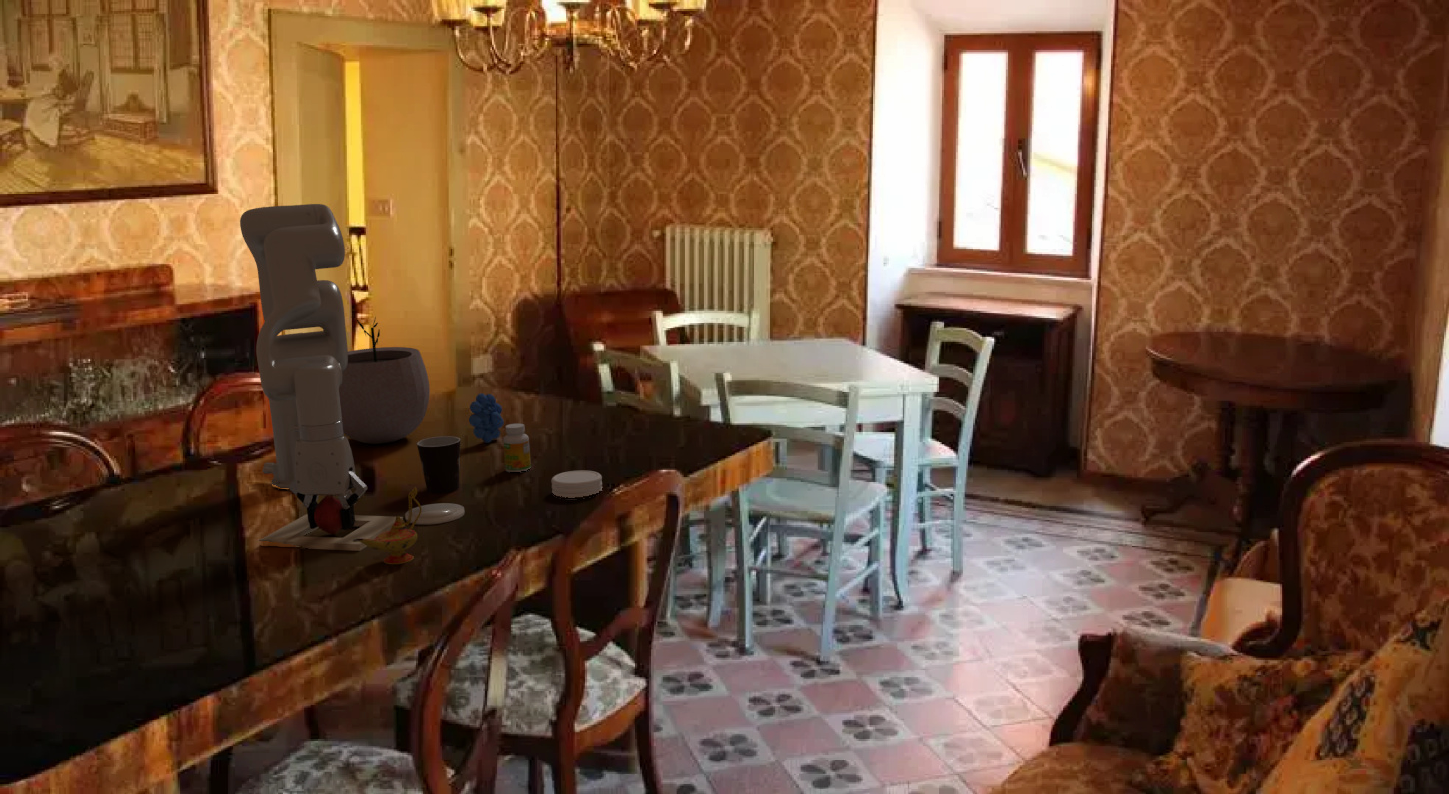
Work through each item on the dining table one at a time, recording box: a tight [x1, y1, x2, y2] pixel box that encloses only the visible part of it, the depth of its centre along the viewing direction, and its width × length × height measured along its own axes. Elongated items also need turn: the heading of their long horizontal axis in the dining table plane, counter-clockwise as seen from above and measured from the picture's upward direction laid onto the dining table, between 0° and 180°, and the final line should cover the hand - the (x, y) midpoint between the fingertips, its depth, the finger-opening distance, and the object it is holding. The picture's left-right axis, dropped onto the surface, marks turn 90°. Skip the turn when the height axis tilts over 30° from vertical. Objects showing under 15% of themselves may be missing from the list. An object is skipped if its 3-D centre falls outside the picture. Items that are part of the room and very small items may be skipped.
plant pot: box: [339, 316, 431, 445], centre depth 309 cm, size 24×24×30 cm
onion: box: [314, 495, 343, 536], centre depth 240 cm, size 6×6×8 cm
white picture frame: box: [258, 514, 404, 552], centre depth 241 cm, size 20×16×1 cm
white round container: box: [550, 470, 603, 498], centre depth 261 cm, size 10×10×4 cm
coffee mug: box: [416, 435, 461, 494], centre depth 268 cm, size 12×9×10 cm
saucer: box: [404, 502, 465, 526], centre depth 250 cm, size 11×11×1 cm
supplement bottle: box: [502, 423, 532, 473], centre depth 279 cm, size 5×5×10 cm
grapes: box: [468, 393, 505, 444], centre depth 304 cm, size 12×7×12 cm, turn 154°
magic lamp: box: [353, 486, 422, 565], centre depth 223 cm, size 7×18×11 cm, turn 156°
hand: (332, 526), depth 240 cm, fingers closed on onion, 5 cm apart
